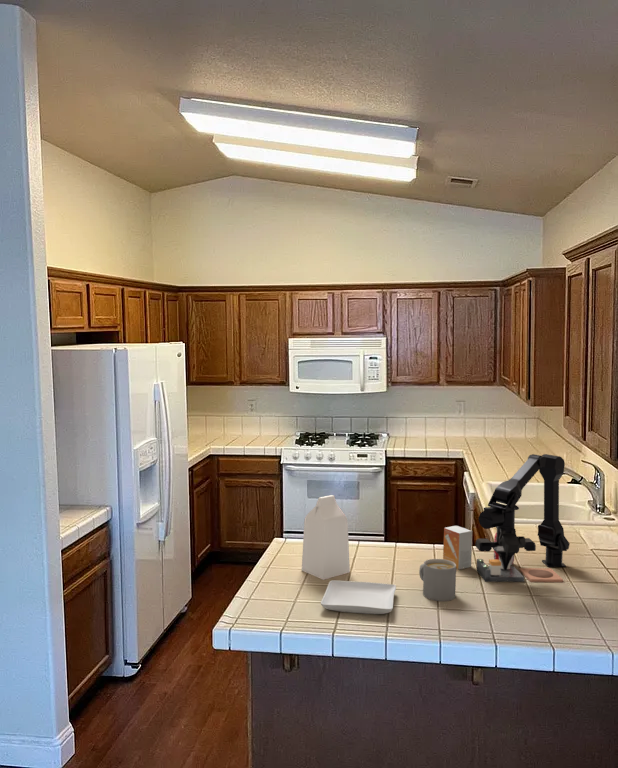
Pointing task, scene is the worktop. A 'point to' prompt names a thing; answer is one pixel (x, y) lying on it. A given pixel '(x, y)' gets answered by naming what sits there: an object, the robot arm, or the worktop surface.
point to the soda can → (498, 555)
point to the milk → (326, 540)
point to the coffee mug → (438, 579)
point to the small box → (458, 546)
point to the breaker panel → (504, 576)
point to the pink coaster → (540, 575)
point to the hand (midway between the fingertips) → (504, 569)
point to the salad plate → (359, 597)
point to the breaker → (494, 566)
